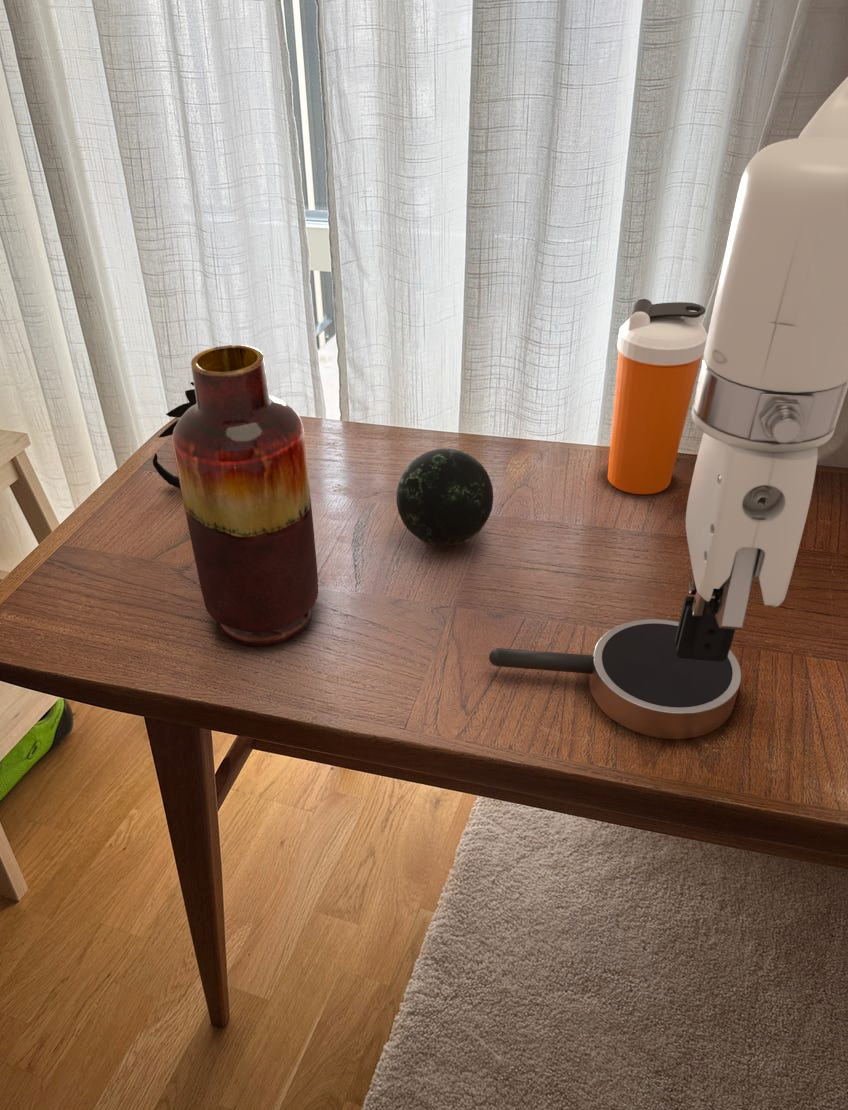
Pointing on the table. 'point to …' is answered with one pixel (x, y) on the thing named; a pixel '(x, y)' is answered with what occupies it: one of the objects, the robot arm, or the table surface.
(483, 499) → the decorative stone
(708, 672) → the pan
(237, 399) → the vase
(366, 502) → the table surface
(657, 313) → the shaker bottle
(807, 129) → the robot arm
